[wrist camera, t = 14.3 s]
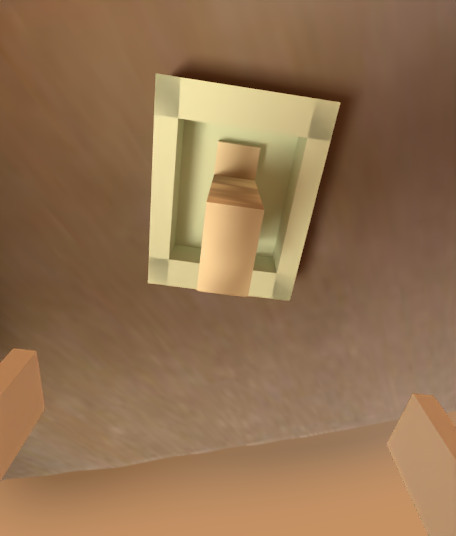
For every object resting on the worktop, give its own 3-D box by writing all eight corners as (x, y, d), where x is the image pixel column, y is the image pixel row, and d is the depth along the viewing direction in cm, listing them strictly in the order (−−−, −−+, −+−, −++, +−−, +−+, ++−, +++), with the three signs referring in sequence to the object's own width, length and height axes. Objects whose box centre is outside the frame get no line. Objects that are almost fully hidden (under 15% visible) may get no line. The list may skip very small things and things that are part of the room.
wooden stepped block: (207, 236, 36) (196, 290, 25) (218, 140, 32) (211, 156, 21) (243, 241, 36) (247, 297, 26) (259, 146, 32) (272, 165, 21)
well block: (157, 262, 39) (147, 283, 34) (166, 78, 31) (155, 73, 26) (283, 279, 40) (289, 300, 35) (324, 103, 31) (340, 102, 27)
